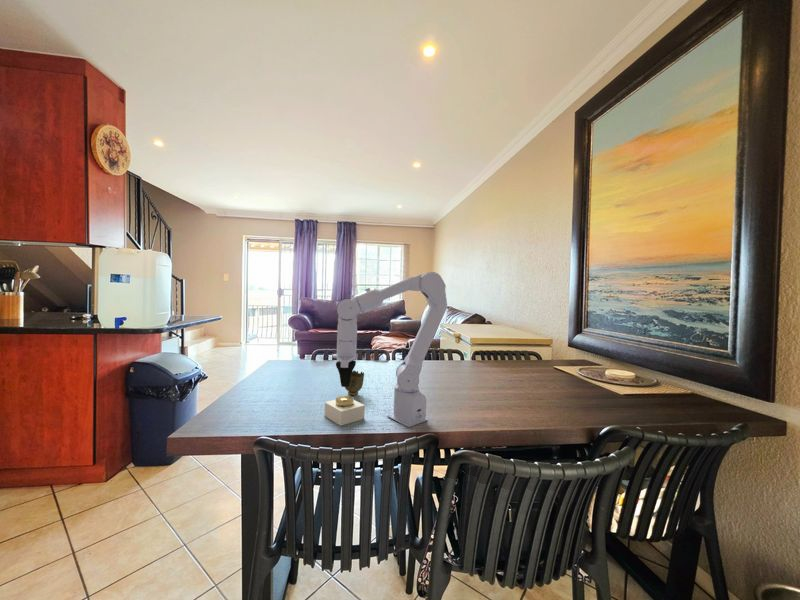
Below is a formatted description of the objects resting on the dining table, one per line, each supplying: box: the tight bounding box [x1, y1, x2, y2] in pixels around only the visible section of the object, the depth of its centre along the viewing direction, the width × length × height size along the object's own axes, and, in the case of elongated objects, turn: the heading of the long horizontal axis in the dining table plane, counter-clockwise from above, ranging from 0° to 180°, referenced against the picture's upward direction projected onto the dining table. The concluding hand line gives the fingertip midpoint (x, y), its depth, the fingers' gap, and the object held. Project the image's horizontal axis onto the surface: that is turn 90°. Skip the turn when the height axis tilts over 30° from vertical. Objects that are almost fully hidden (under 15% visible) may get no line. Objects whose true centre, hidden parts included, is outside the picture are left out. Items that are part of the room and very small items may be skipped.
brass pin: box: [335, 395, 355, 407], centre depth 92 cm, size 5×5×5 cm
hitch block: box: [323, 399, 366, 427], centre depth 92 cm, size 9×8×4 cm
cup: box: [344, 369, 365, 397], centre depth 112 cm, size 8×7×8 cm
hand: (345, 386), depth 92 cm, fingers closed
